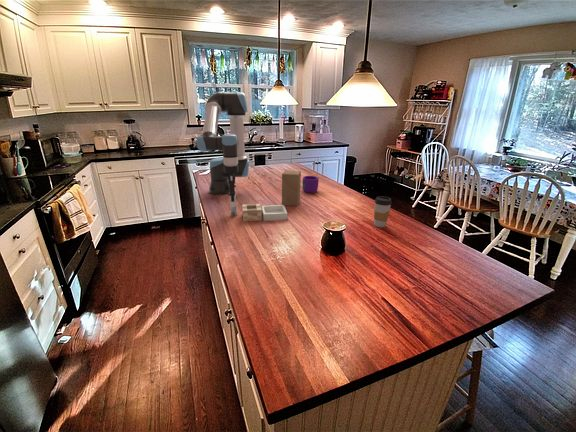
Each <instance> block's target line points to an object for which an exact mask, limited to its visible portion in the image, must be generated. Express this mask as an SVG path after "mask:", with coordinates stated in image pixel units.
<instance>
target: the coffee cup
mask: <svg viewBox="0 0 576 432" xmlns="http://www.w3.org/2000/svg"><path fill="white" fill-rule="evenodd" d="M391 205H392V198H391V197H389V196H383V195H382V196H376V198H375V201H374V212H373V225H374V226H375V227H377V228H385V227H386V226H387V222H388V219H389V215H390V210H391Z"/></svg>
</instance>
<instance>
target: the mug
mask: <svg viewBox="0 0 576 432" xmlns="http://www.w3.org/2000/svg"><path fill="white" fill-rule="evenodd" d="M302 190H303V192H304V193H307V194H313V193H316V192H317V191H318V190H319V177H318V176H314V175H305V176H303V177H302Z"/></svg>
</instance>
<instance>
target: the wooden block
mask: <svg viewBox="0 0 576 432" xmlns="http://www.w3.org/2000/svg"><path fill="white" fill-rule="evenodd" d="M301 174H302V171H301V170H290V169H289V170H287V169H286V170H284V171H283V172H282V174H281V205H284V206H293V207H294V206H295V207H298V205H299V203H300V201H301V184H302V183H301V182H302V181H301V180H302V179H301V178H302V177H301V176H302V175H301Z"/></svg>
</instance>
